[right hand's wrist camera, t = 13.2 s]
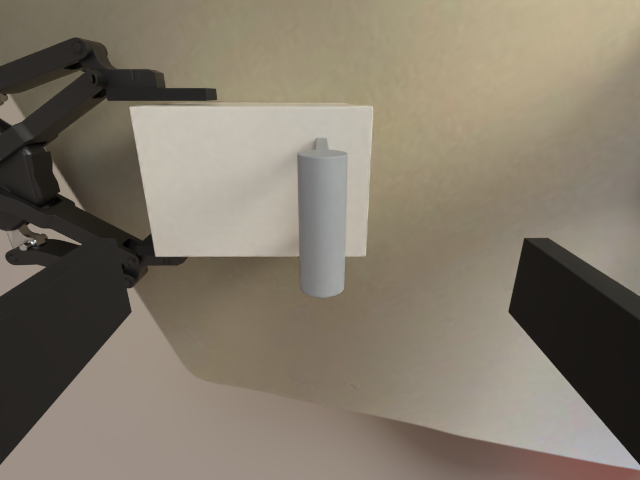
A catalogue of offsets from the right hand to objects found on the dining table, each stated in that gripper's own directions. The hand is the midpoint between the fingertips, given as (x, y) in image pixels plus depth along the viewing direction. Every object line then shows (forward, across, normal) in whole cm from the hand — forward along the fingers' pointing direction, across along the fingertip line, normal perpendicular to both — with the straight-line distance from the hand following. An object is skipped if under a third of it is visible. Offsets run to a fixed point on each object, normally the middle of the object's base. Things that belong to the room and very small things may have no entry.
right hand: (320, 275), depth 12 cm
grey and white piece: (+14, -4, 0) cm, 14 cm away
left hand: (+17, -7, 0) cm, 18 cm away
